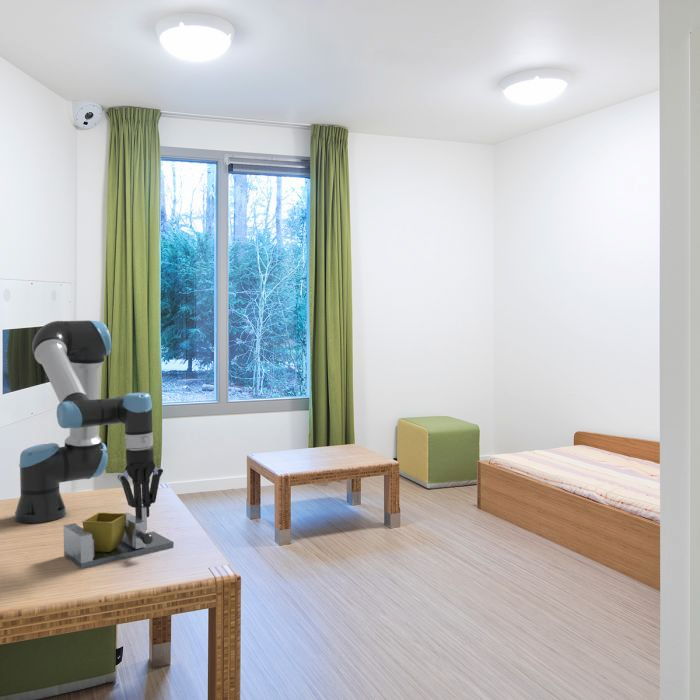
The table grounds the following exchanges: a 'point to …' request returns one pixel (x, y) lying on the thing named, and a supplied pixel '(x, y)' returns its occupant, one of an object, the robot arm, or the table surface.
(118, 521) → the flower pot
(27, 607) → the table surface
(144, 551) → the vise base
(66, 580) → the table surface
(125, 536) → the block
